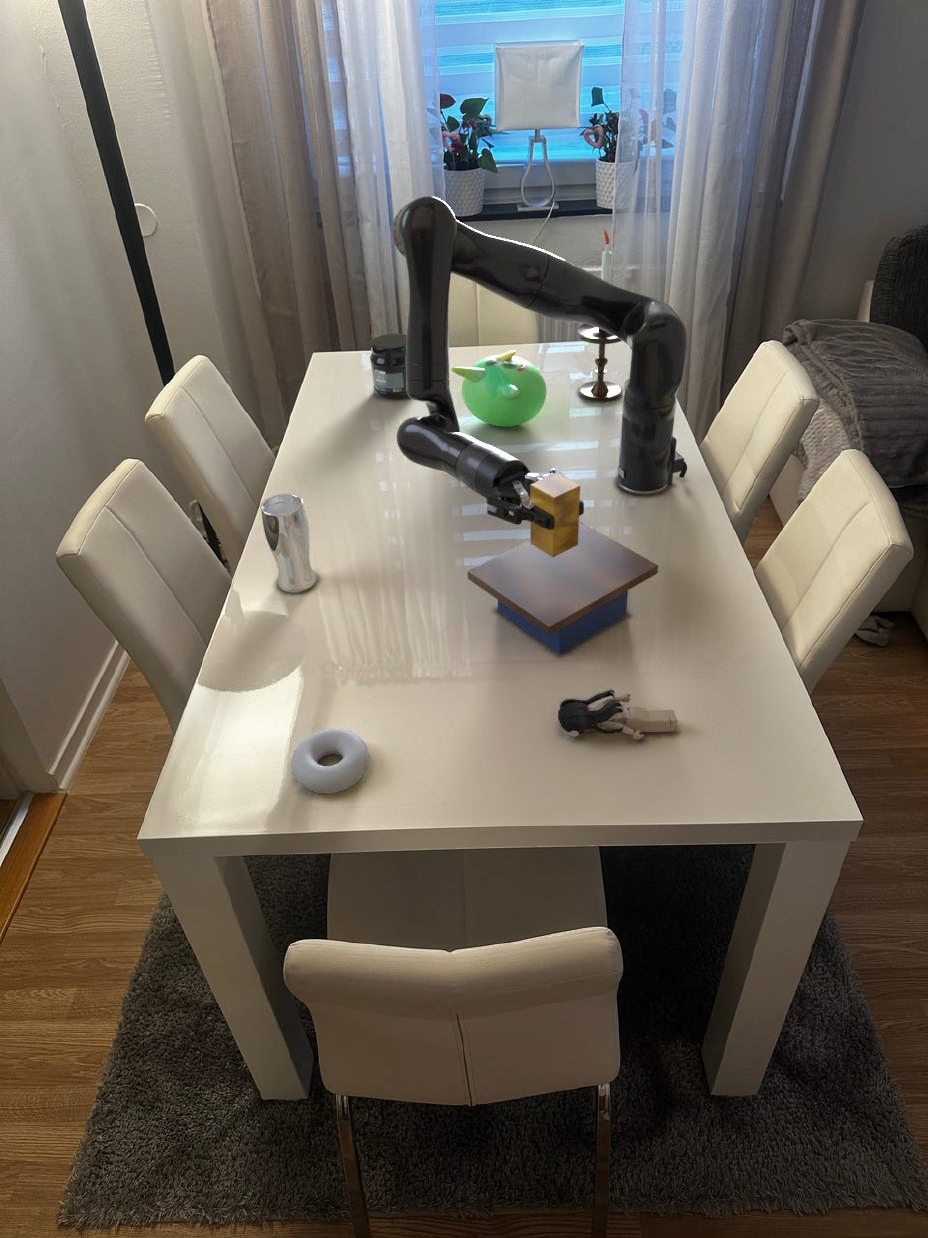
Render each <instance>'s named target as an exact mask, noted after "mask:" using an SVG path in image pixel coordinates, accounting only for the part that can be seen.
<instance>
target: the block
mask: <svg viewBox="0 0 928 1238" xmlns="http://www.w3.org/2000/svg"><path fill="white" fill-rule="evenodd" d="M567 478H568V477H567ZM567 478H565V477H563V476H561V475H559V474H557V473H555V474H553V475H551V476H548V477H546V478H544V479H542V480H540V481H537V482H535V483H533V484H531V485H530V502H532V503H533V504H534V507H536V506H538V507H539V508H541V509H543V510H545V511H546V512H548V513H550V514H552V515H553V516H554V517H555V528H554V529H552V530H548V529H546V528H542V527H540V526H539V525H537V524H535V523H534V522H529V523H530V534H529V535H530V536H529V537H530V539H529V540H530V543H531V544H532V545H534V546H535V547H537V548H539V549H540V550H542V551H544V552H545V553H547V554H548V555H550V556H552V557H555V556H557V555H559V554H561V553H563V552H565V551H567V550H569V549H571V548H573V547H575V546H576V545H578V531H579V521H580V516H579V505H580V499H581V485H580V484H579V483H576V482H574V481H572V480H570V479H569V478H568V479H567Z"/></svg>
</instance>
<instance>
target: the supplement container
mask: <svg viewBox="0 0 928 1238" xmlns="http://www.w3.org/2000/svg"><path fill="white" fill-rule="evenodd" d="M406 336H407V334H404V333H386V334H381V335H378V336H376V337H374V338H373V339H372V340H371V341H370V350H371V354H370V356H369V361H370V365H371V374H372V375H371V376H372V382H373V391H374V393H375V394H376V395H377V396H378V397H380V398H382V399H385V400H402V399H406V398H407V399H408V398H410V397H409V396H408V394H407V389H406V380H407V379H406Z"/></svg>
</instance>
